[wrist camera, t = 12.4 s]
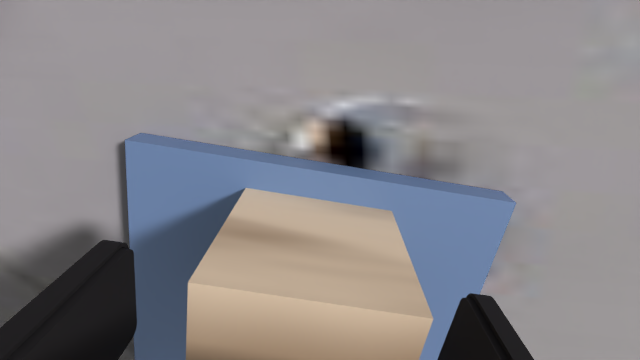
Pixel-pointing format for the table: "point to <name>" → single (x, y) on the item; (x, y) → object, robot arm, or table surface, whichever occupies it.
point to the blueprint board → (299, 180)
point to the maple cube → (306, 285)
